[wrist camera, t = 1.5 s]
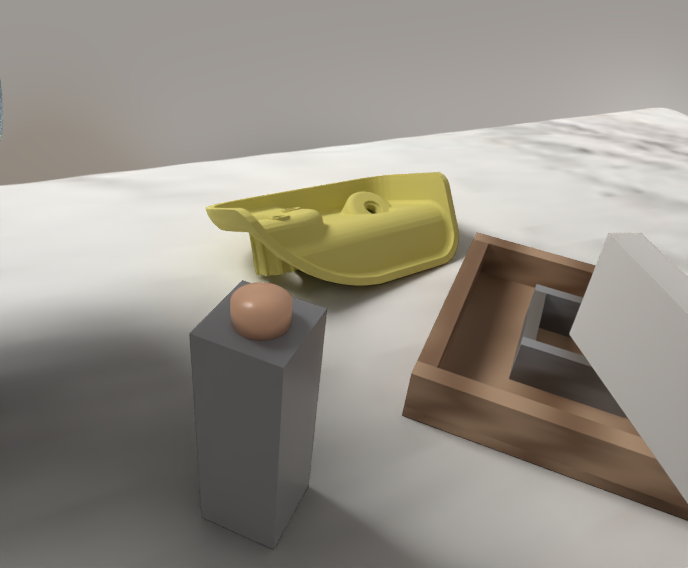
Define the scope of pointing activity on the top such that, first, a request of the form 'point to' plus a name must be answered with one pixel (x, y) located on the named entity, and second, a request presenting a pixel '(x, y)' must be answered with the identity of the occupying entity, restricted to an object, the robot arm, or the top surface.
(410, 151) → the top surface
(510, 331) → the box
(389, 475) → the top surface
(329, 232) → the plastic component
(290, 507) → the grey tall block
